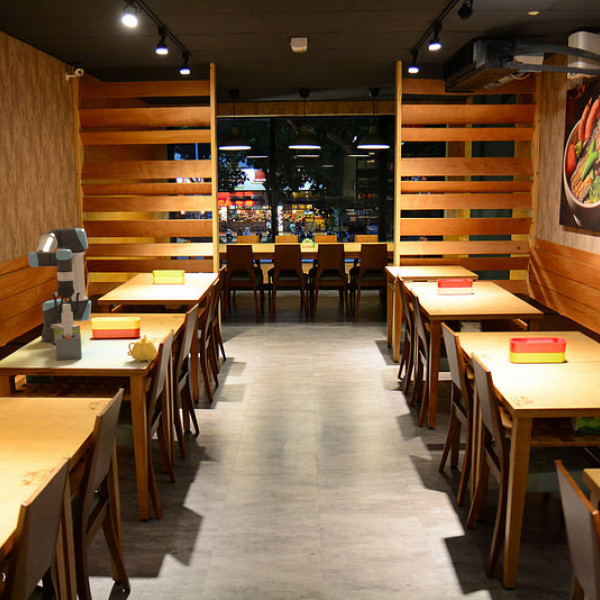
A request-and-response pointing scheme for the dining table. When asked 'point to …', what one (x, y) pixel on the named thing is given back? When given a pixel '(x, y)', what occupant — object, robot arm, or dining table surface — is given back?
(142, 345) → the teapot
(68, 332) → the column
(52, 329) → the tea box
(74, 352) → the stand base
